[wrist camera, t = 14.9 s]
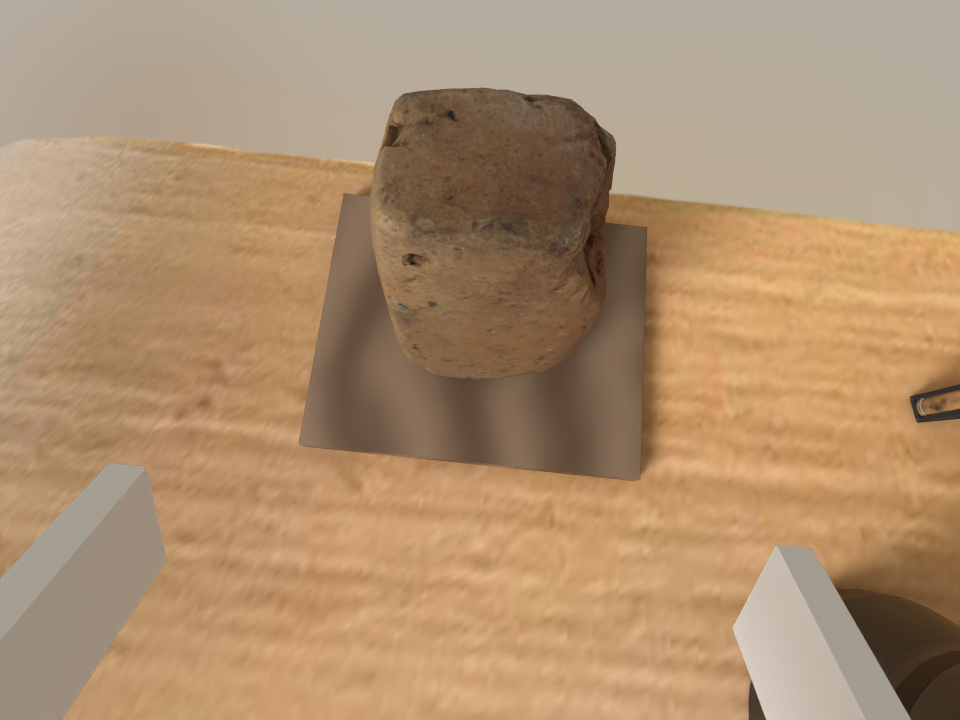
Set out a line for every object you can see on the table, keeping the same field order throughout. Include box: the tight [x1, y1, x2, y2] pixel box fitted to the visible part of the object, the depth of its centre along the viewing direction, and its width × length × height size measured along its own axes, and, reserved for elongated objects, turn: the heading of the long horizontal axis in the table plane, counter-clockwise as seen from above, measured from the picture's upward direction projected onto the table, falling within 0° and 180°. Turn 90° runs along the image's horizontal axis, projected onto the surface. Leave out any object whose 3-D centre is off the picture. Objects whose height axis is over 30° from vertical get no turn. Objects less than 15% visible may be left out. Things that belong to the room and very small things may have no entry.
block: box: [370, 88, 616, 380], centre depth 30 cm, size 11×8×20 cm
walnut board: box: [299, 193, 647, 481], centre depth 40 cm, size 22×18×2 cm
